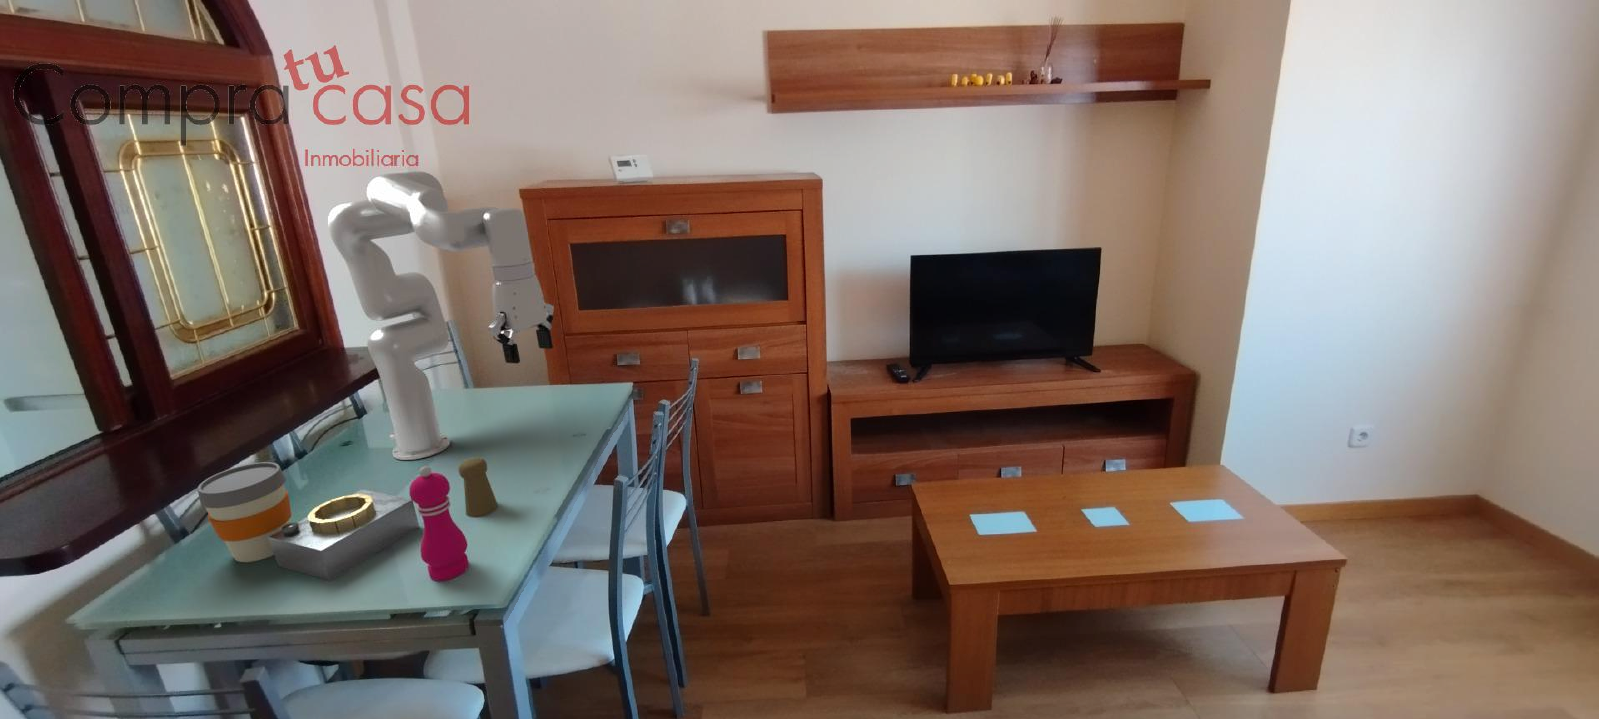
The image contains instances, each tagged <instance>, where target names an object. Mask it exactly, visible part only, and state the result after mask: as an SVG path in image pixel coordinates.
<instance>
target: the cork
mask: <svg viewBox="0 0 1599 719" xmlns="http://www.w3.org/2000/svg"><path fill="white" fill-rule="evenodd" d="M487 471H488V464H487V462H486V460H485V459H484V458H483V457H479V456H476V457H475V456H474V457H470V458H467V459H465V460H463V461H462V462H460V463H459V466H458V473H459V474H458V475H459V476H460V477H461V478H462V479H463V490H464V504H465V515H466V516H467V517H470V518H479V517H484V516H487V515H490V514H491V513H493V512H495V511H496V510H497V509H498V508H499V505H498V502H497V498H496V497H495V494H494V490H493V488H492V487H491V483H490V481H489V478H488V476H487Z"/></svg>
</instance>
